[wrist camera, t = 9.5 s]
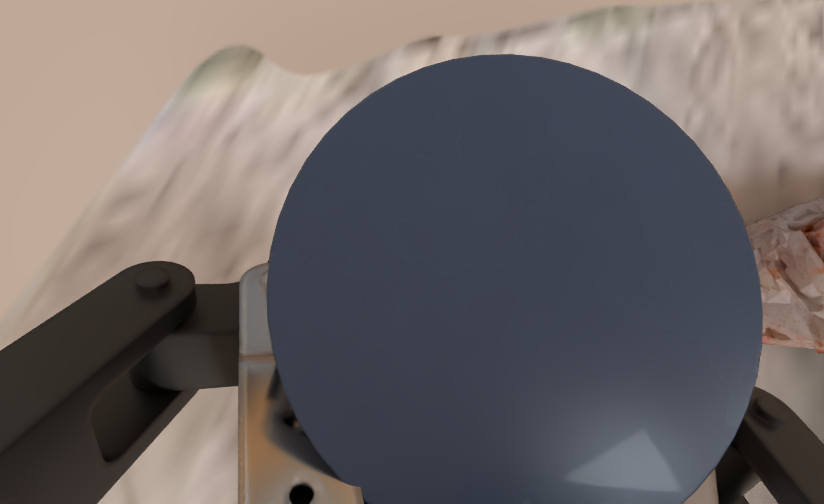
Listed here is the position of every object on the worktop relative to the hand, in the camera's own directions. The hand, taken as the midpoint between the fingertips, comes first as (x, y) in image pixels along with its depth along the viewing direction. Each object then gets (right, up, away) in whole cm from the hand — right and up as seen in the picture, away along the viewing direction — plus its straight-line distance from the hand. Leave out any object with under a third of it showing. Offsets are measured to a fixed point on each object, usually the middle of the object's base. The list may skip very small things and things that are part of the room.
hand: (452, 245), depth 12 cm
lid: (0, -1, -7) cm, 7 cm away
